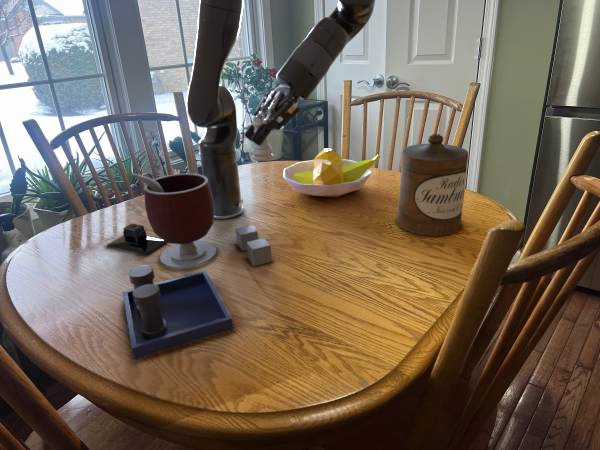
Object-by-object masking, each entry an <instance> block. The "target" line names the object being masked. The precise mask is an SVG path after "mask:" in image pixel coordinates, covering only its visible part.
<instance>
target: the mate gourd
mask: <svg viewBox="0 0 600 450" xmlns="http://www.w3.org/2000/svg"><path fill="white" fill-rule="evenodd" d="M130 177H131V178H136V179H137V180H140V181H141V182H143V183H144V187H143V189H144V208H145V212H146V216H147V220H148V222H149V225H150V227H151V230H152V231H153V233H154V234H155V235H156V236H157V237H158V238H159V239H161V240H164V241H165V242H166V244H171V246H170V247H168V248H166V249H164V251H162V253H161V254H160V257H159V260H160V262H161V263H162V264H163V265H165V266H167V267H170V268H190V267H195V266H198V265H202V264H204V263H206V262H208V261H209V260H211V259H212V258H213V257H214V256H216V253H217V247H216V245H214V244H213V243H211V242H209V241H204V240H201V239H203V238H204V237H206V236H207V235H208V233H209V231H210V229H211V228H212V226H213V225H214V219H215V218H214V201H213V195H212V192H211V188H210V185H209V183H208V178H207V177H205V176H203V174H200V173H174V174H167V175H163V176H159V177H157V178H152V177H148V176H146V175H142V174H138V173H134V172H132V173H131V174H130Z"/></svg>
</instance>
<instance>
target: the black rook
mask: <svg viewBox="0 0 600 450" xmlns="http://www.w3.org/2000/svg"><path fill="white" fill-rule="evenodd" d="M128 279H129V282H130V284H132V285H133V289H136V288H138V287H140V286H142V285H146V284H155V282H154V279H155V271H154V267H153V266H152V265H148V264H143V265H138V266H135V267H133V268H131V269H130V270H128ZM159 303H160V301H159ZM160 307H161V304H160ZM137 312H138V314H139V315H140V311H139V307H138V305H137Z"/></svg>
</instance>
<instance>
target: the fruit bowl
mask: <svg viewBox="0 0 600 450" xmlns="http://www.w3.org/2000/svg"><path fill="white" fill-rule="evenodd" d="M380 158H381V156H380V155H379V154H377V155H376V156H375V157H373V158H369V159H365V160H361V161H355V160H351V159H343V158H342V156H341V155H339V154H338V153H337V152H336V151H335V150H334V149H331V148H324V149H323V150H321V151H320V152H319V153H318V154H317V155H316V156H315V157H314V159H312V160H304V161H299V162H296V163H294V164H292V165H290V166H287V167H285V168H283V172H282V173H283V174H282V176H283V177H282V178H283V179H284V180H285V182H286V183H287V184H288V185H289V187H290V188H291V189H293V190H294V191H295V192H298V193H300V194H304V195H307V196H315V197H330V198H331V197H332V198H337V197H341V196H344V195H347V194H349V193H352V192H354V191H358V190H361V189H362V188H363V186H364V185H365V183H366V182H367V181H368V179H369V178H370V177H371V175H372V174H373V171H371V169H372V168H373V167H374V166H375V165H376V162H377V161H378V160H379V159H380Z"/></svg>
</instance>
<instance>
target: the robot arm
mask: <svg viewBox="0 0 600 450" xmlns="http://www.w3.org/2000/svg"><path fill="white" fill-rule="evenodd" d="M375 3H376V0H337V5H336V6H335V8H334V9H333V10H332V12H331V13H330V14H329V16H325V17H322V18H321V19H320V20H318V22H317V23H316V24H315V25H314V26H313V28H312V29H311V30H310V32H309V33H308V34H307V35H306V37H305V38H304V39H303V40H302V42H301V43H299V45H298V46H297V47H296V48H295V49H294V50H293V52H292V53H291V55H290V56H289V57H288V58H287V60H286V61H285V63H283V65H282V67H281V68H280V69H279V71H278V72H277V73H276V75H275V77H276V81H277V82H278V86H277V87H276V88H275V89H273V90H272V91H271V92H270V93H269V92H268V91H266V92H265V93H264V94H263V96H262V97H261V99H260V101H259V103H258V104H257V107H256V108H255V109H254V112H253V114H252V116H253V117H254V118H256V119H257V117H260V119H262V117H264V118H265V120H264V121H263V124H264V125H263V124H261V125H260V126H259V128H258V129H257V130H256V132H255V133H254V130H255V128H254V126H253V125H252V124H250V126H249V127H248V128H247V130H246V131H245V132H244V137H245V138H246V139H248V141H250V142H253V143H254V144H257V145H261V144H262V143H263V141H264V140H265V139H266V137H268V136H269V135H270V133H271V132H274V131H275V130H277V131H280V130H281V129H282V128H283V127H284V126H285V125H286V124H287V123H288V122H289V121H290V120H291V119H292V118H294V116H296V115H297V113H299V111H300V110H301V107H300V106H298V104H297V103H298V101H299V100H300V101H303V102H305V101H307V100H308V99H309V98H310V96H311V95H312V93H313V92H314V91H315V90H316V88H317V87H318V85H319V84H320V83H321V82H322V80H323V79H324V77H325V76H326V75H327V74H328V72H329V70H330V69H331V67H332V65H333V64H334V62H335V61H336V60H337V58H338V57H339V56H340V55H341V53H342V52H343V50H344V49H345V47H346V45H348V43H350V42H351V41H352V40H353V39H354V38H355V37H356V36H357V35H358V34H359V33H360V32H361V31H362V30H363V29H364V28H365V26H366V25H367V24H368V22H369V21H370V19H371V17H372V16H373V13H374V7H375ZM243 9H244V0H199V7H198V17H197V29H196V30H197V33H196V39H195V48H194V57H193V59H194V60H193V65H192V72H191V76H190V81H189V85H188V90H187V96H186V111H187V116H188V118H189V120H190V121H191V123H192V124H193V125H194V126H196V127H198V128H201V129H202V128H204V129H205V132H204V134H203V136H202V137H201V139H200V140H199V141H198V150H199V157H200V164H201V171H202V172H201V173H202V175H203V176H205V177H207V178H208V183H209V185H210V188H211V192H212V195H213V201H214V219H217V220H225V219H226V220H227V219H231V218H234V217H235V218H236V217H238V216H239V215H241V214H242V213H243V211H244V209H243V204H244V199H243V198H242V194H241V186H240V185H241V183H240V175H239V165H238V158H237V148H236V143H237V140H238V119H237V107H236V101H235V99H234V96H233V94H232V92H231V91H230V89H228V87H226V86H224V85H222V84H221V79H222V78H221V77H222V73H223V71H224V67H225V64H226V62H227V60H228V59H229V57H230V54H231V53H232V51H233V49H234V47H235V45H236V42H237V40H238V37H239V35H240V29H241V23H242V16H243Z"/></svg>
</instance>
